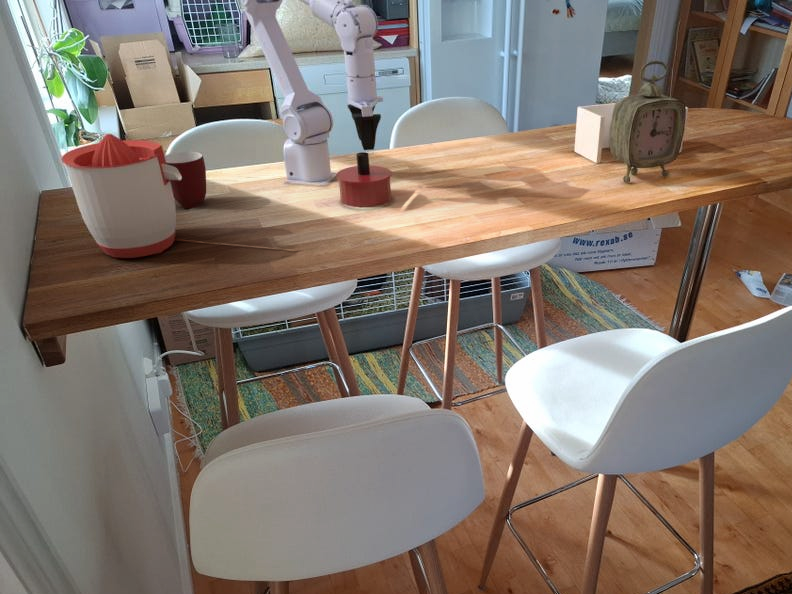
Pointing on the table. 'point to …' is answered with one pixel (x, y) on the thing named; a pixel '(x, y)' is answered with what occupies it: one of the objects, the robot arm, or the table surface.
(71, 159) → the citrus juicer
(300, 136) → the robot arm
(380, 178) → the tin lid
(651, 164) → the tabletop clock
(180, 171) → the mug
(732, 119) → the table surface
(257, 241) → the table surface
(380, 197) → the tin
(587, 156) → the storage container
